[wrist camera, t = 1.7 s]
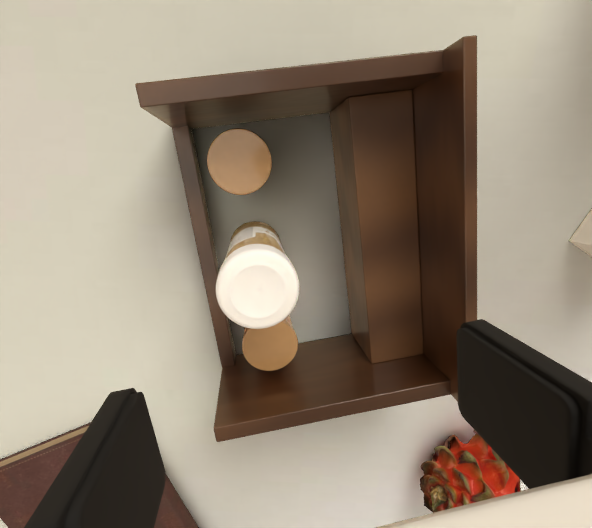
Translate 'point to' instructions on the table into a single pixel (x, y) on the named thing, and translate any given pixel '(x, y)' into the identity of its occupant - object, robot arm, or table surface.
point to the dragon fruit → (465, 475)
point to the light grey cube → (584, 235)
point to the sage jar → (239, 161)
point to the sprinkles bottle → (256, 278)
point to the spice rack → (355, 227)
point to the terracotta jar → (270, 345)
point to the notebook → (42, 472)
